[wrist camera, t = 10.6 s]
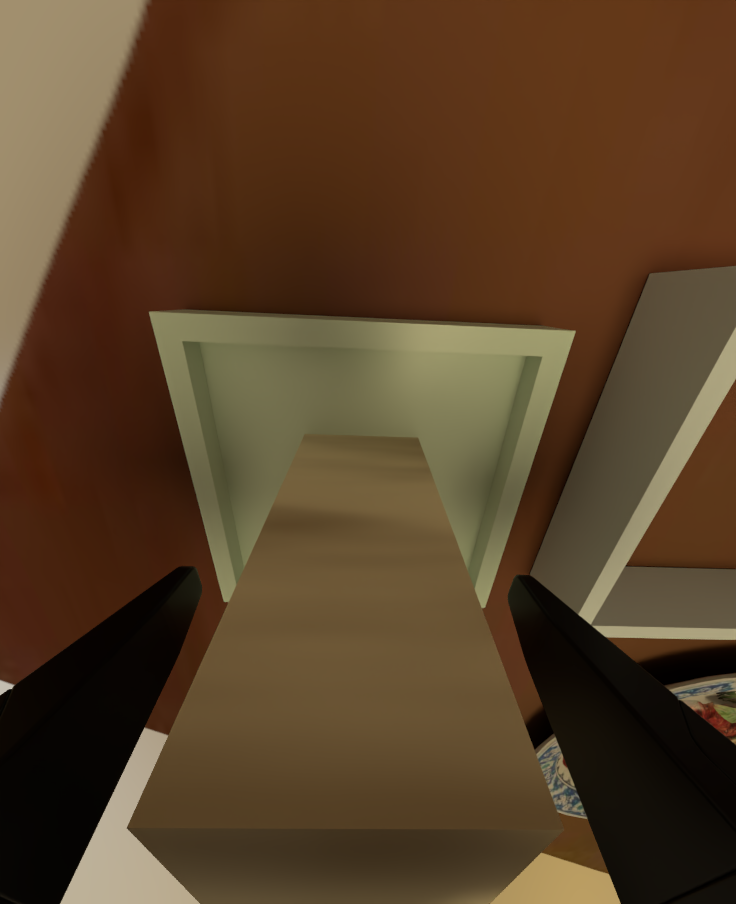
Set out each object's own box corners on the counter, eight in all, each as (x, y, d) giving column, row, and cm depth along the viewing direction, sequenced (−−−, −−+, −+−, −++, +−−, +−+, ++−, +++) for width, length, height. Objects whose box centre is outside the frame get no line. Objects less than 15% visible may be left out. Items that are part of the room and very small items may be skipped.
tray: (472, 575, 17) (484, 608, 15) (238, 569, 17) (223, 602, 15) (542, 325, 11) (575, 331, 9) (184, 309, 11) (148, 311, 9)
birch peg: (407, 525, 14) (477, 915, 5) (310, 523, 14) (212, 916, 5) (418, 437, 12) (564, 830, 3) (304, 433, 12) (126, 828, 3)
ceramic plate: (625, 806, 34) (646, 848, 32) (452, 749, 28) (461, 797, 25) (902, 708, 25) (966, 758, 22) (739, 587, 18) (804, 637, 15)
